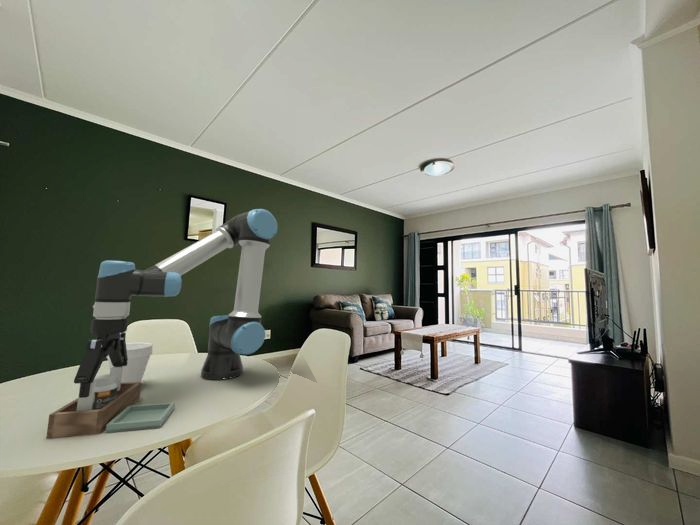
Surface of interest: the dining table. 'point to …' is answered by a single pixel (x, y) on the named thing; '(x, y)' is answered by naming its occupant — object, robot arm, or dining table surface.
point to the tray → (140, 417)
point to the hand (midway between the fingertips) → (100, 399)
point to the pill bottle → (104, 390)
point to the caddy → (91, 414)
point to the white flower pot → (135, 361)
